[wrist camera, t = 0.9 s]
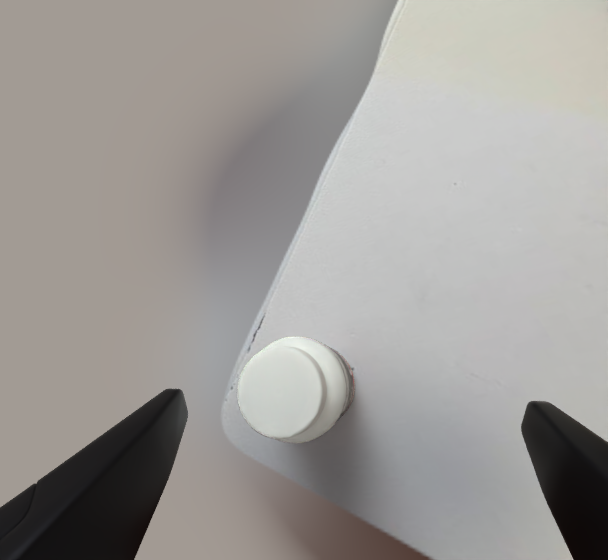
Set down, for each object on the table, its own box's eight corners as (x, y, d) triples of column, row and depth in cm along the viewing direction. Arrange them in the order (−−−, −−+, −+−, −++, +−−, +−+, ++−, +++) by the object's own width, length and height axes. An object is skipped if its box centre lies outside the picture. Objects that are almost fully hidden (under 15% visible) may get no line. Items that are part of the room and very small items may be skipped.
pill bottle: (284, 428, 25) (224, 461, 15) (277, 350, 26) (218, 338, 17) (362, 420, 24) (347, 451, 14) (349, 340, 25) (329, 321, 16)
